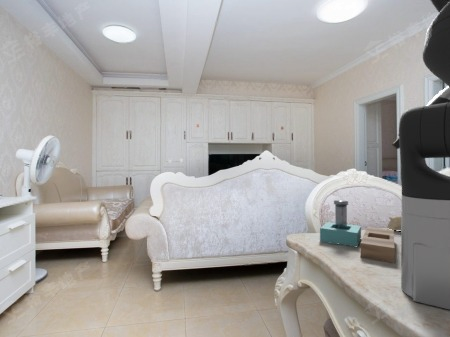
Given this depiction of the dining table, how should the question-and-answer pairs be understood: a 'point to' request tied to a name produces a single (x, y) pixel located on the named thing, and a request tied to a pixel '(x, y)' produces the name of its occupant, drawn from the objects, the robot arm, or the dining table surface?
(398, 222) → the decorative ornament
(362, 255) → the beam
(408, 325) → the dining table surface
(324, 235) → the holder
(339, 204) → the axle
